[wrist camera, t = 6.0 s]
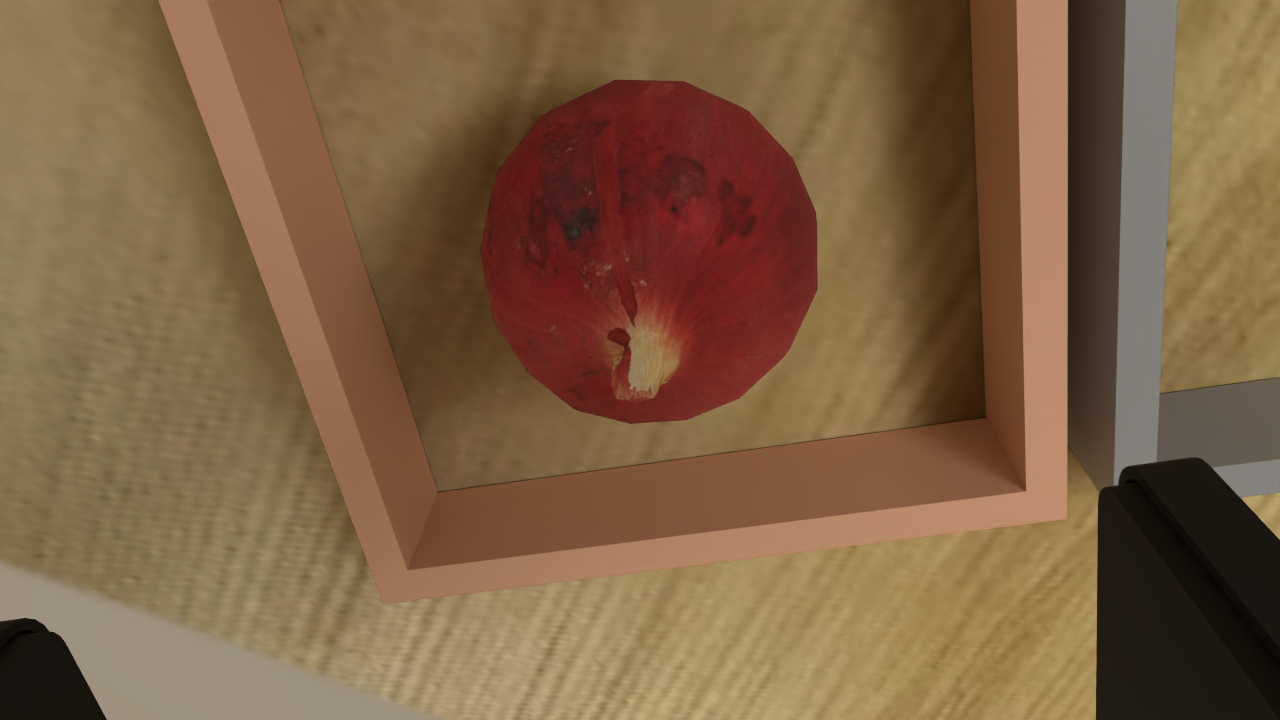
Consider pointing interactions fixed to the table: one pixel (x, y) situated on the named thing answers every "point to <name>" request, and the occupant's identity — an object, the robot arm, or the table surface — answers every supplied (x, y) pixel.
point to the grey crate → (1138, 266)
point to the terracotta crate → (672, 490)
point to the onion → (649, 251)
